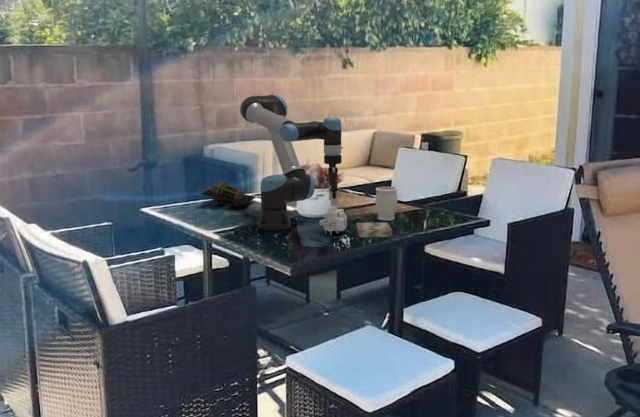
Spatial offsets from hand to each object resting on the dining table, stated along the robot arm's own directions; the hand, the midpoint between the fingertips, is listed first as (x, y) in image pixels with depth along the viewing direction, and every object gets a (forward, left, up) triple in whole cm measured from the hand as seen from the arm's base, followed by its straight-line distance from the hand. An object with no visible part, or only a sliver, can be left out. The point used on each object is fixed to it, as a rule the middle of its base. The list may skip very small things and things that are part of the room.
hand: (333, 203), depth 292 cm
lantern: (-54, +63, -14) cm, 84 cm away
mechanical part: (0, 0, -14) cm, 14 cm away
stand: (+18, -1, -14) cm, 22 cm away
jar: (+27, +26, -14) cm, 40 cm away
